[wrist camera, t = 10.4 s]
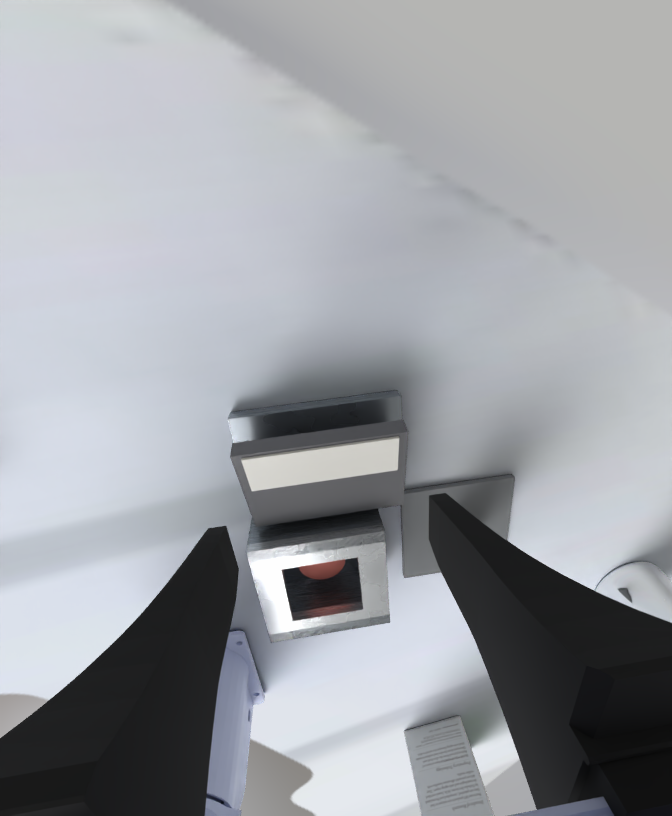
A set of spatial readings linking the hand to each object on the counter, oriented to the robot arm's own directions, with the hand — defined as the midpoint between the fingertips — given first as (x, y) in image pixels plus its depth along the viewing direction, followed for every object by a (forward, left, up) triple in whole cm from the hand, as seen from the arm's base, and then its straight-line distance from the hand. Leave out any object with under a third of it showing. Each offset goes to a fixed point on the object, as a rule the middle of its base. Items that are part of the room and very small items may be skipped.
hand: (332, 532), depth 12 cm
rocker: (-3, 0, -7) cm, 8 cm away
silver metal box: (-7, 0, -10) cm, 12 cm away
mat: (-11, -9, -10) cm, 17 cm away
